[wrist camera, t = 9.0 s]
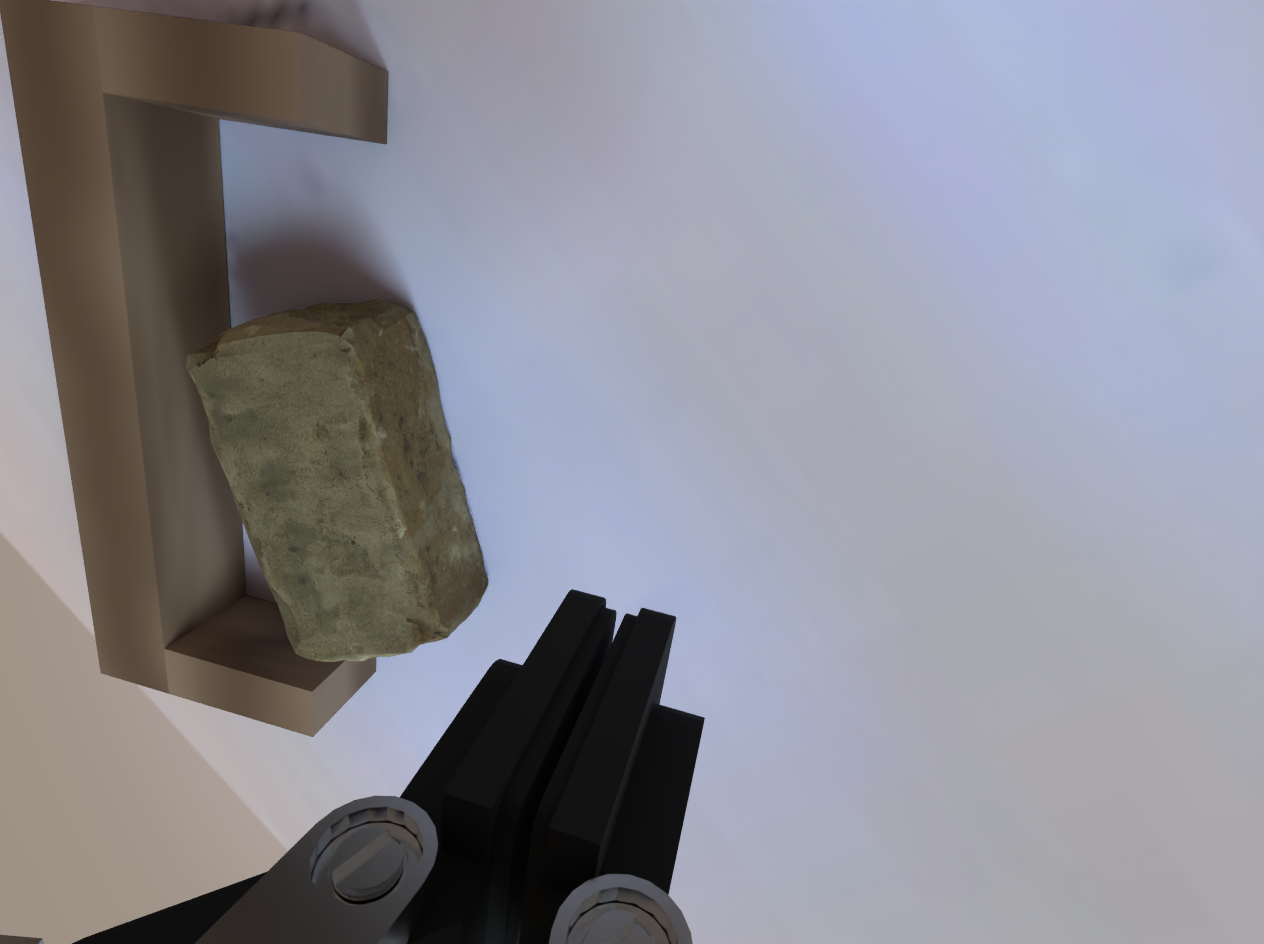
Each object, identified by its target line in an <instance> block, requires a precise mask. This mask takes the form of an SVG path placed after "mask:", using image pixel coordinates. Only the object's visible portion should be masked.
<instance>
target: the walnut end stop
mask: <svg viewBox="0 0 1264 944" xmlns="http://www.w3.org/2000/svg"><path fill="white" fill-rule="evenodd" d="M0 13H1V20H2V26H3V33H4V39H5V46H6V52H7V59H8V66H9V72H10V79H11V85H12V92H13V98H14V105H15V112H16V118H17V125H18V131H19V138H20V145H21V151H22V158H23V164H24V171H25V177H26V184H27V191H28V197H29V204H30V210H31V217H32V223H33V230H34V237H35V243H36V250H37V256H38V263H39V269H40V276H41V283H42V289H43V296H44V302H45V309H46V315H47V322H48V329H49V335H50V342H51V348H52V355H53V362H54V368H55V375H56V381H57V388H58V394H59V401H60V408H61V414H62V421H63V427H64V434H65V440H66V447H67V454H68V460H69V467H70V473H71V480H72V486H73V493H74V500H75V506H76V513H77V519H78V526H79V532H80V539H81V546H82V552H83V559H84V565H85V572H86V579H87V585H88V592H89V598H90V605H91V611H92V618H93V625H94V631H95V638H96V644H97V650H98V657H99V664H100V671H101V673H102V674H106V675H109V676H112V677H116V678H119V679H122V680H125V681H129V682H132V683H135V684H139V685H142V686H145V687H149V688H152V689H155V690H159V691H162V692H165V693H169V694H172V695H175V696H179V697H182V698H185V699H188V700H192V701H195V702H198V703H202V704H205V705H208V706H212V707H215V708H218V709H222V710H225V711H228V712H232V713H235V714H238V715H241V716H245V717H248V718H251V719H255V720H258V721H261V722H265V723H268V724H271V725H275V726H278V727H281V728H285V729H288V730H291V731H295V732H298V733H301V734H304V735H308V736H311V737H313V736H314V735H315V734H316V733H317V732H318V731H319V730H320V729H321V728H322V727H323V726H324V725H325V724H326V723H327V722H328V721H329V720H330V719H331V718H332V717H333V716H334V715H335V714H336V712H337V711H338V710H339V709H340V708H341V707H342V706H343V705H344V704H345V703H346V702H347V701H348V700H349V699H350V698H351V697H352V696H353V695H354V694H355V693H356V692H357V691H358V690H359V689H360V687H361V686H362V685H363V684H364V683H365V682H366V681H367V680H368V679H369V678H370V677H371V676H372V675H373V674H374V673H375V672H376V657H374V658H370V659H367V660H364V661H347V660H342V661H337V662H323V661H315V660H311V659H307V658H304V657H302V656H300V655H298V654H296V653H295V651H294V649H293V647H292V645H291V643H290V640H289V638H288V636H287V632H286V628H285V624H284V621H283V618H282V615H281V613H280V610H279V607H278V605H277V604H275V603H271V602H268V601H264V600H260V599H257V598H253V597H249V596H246V584H245V567H244V550H243V532H242V518H241V516H240V513H239V510H238V507H237V505H236V502H235V499H234V496H233V493H232V490H231V487H230V485H229V482H228V479H227V477H226V475H225V473H224V470H223V468H222V466H221V463H220V461H219V459H218V457H217V455H216V452H215V450H214V448H213V446H212V444H211V437H210V428H209V421H208V418H207V415H206V411H205V408H204V405H203V402H202V400H201V397H200V394H199V392H198V389H197V386H196V384H195V382H194V381H193V379H192V377H191V376H190V374H189V372H188V370H187V368H186V363H187V357H188V354H191V353H194V352H197V351H199V350H200V349H202V348H204V347H205V346H207V345H208V344H210V343H212V342H213V341H214V340H215V339H216V338H217V336H218V335H219V334H220V333H222V332H224V331H226V330H228V329H231V325H230V308H229V290H228V273H227V256H226V238H225V221H224V204H223V187H222V169H221V152H220V135H219V119H223V120H230V121H237V122H243V123H250V124H256V125H263V126H269V127H276V128H282V129H289V130H296V131H302V132H309V133H315V134H322V135H328V136H335V137H342V138H348V139H355V140H361V141H368V142H374V143H381V144H387V106H388V71H385V70H383V69H381V68H379V67H376V66H374V65H372V64H370V63H367V62H365V61H363V60H361V59H358V58H356V57H354V56H352V55H349V54H347V53H345V52H342V51H340V50H338V49H336V48H333V47H331V46H329V45H327V44H324V43H322V42H320V41H318V40H315V39H313V38H311V37H309V36H306V35H304V34H302V33H300V32H293V31H285V30H277V29H269V28H261V27H254V26H246V25H238V24H230V23H222V22H214V21H207V20H199V19H191V18H183V17H175V16H168V15H160V14H152V13H144V12H136V11H128V10H121V9H113V8H105V7H97V6H89V5H82V4H74V3H66V2H58V1H50V0H0Z"/></svg>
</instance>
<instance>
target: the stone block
mask: <svg viewBox="0 0 1264 944" xmlns="http://www.w3.org/2000/svg"><path fill="white" fill-rule="evenodd" d="M186 368H187V370H188V372H189V374H190V376H191V377H192V379H193V381H194V382H195V384H196V386H197V389H198V392H199V394H200V397H201V400H202V402H203V405H204V408H205V411H206V415H207V418H208V421H209V428H210V437H211V444H212V446H213V448H214V450H215V452H216V455H217V457H218V459H219V461H220V463H221V466H222V468H223V470H224V473H225V475H226V477H227V479H228V482H229V485H230V487H231V490H232V493H233V496H234V499H235V502H236V505H237V507H238V510H239V513H240V516H241V518H242V521H243V524H244V526H245V529H246V532H247V535H248V537H249V540H250V542H251V545H252V547H253V550H254V552H255V555H256V557H257V560H258V562H259V565H260V567H261V570H262V572H263V575H264V577H265V579H266V581H267V584H268V586H269V588H270V590H271V592H272V594H273V596H274V598H275V600H276V603H277V605H278V607H279V610H280V613H281V615H282V618H283V621H284V624H285V628H286V632H287V636H288V638H289V640H290V643H291V645H292V647H293V649H294V651H295V653H296V654H298V655H300V656H302V657H304V658H307V659H311V660H315V661H323V662H337V661H342V660H347V661H364V660H367V659H370V658H374V657H390V656H395V655H400V654H405V653H410V652H413V651H414V650H415V649H416V648H417V647H418V646H419V645H421V644H424V643H429V642H435V641H439V640H442V639H445V638H448V636H449V635H450V634H451V633H452V632H453V631H454V630H455V629H456V628H457V627H458V626H459V625H460V624H461V623H462V622H463V621H465V620H466V619H467V618H468V616H469V615H470V614H471V613H472V612H473V610H474V609H475V608H476V607H478V605H479V603H480V601H481V599H482V596H483V594H484V592H485V591H486V588H487V586H488V578H487V575H486V573H485V569H484V562H483V556H482V552H481V549H480V546H479V543H478V540H477V536H476V533H475V529H474V525H473V522H472V519H471V516H470V513H469V510H468V507H467V501H466V494H465V489H464V487H463V485H462V483H461V481H460V478H459V474H458V472H457V469H456V467H455V465H454V463H453V460H452V458H451V437H450V435H449V433H448V430H447V428H446V425H445V421H444V417H443V412H442V408H441V403H440V395H439V388H438V382H437V378H436V374H435V369H434V365H433V362H432V359H431V356H430V352H429V349H428V346H427V343H426V341H425V338H424V335H423V333H422V330H421V328H420V325H419V322H418V320H417V317H416V315H415V313H414V312H412V311H410V310H407V309H405V308H403V307H401V306H398V305H395V304H391V303H388V302H385V301H381V300H373V301H367V302H362V303H324V304H317V305H313V306H310V307H307V308H305V309H292V310H289V311H285V312H281V313H277V314H272V315H269V316H266V317H262V318H258V319H254V320H251V321H249V322H246V323H244V324H241V325H238V326H236V327H233V328H231V329H228V330H226V331H224V332H222V333H220V334H219V335H218V336H217V338H216V339H215V340H214V341H213V342H212V343H210V344H208V345H207V346H205V347H204V348H202V349H200V350H199V351H197V352H194V353H191V354H188V357H187V363H186Z"/></svg>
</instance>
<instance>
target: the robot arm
mask: <svg viewBox="0 0 1264 944" xmlns="http://www.w3.org/2000/svg"><path fill="white" fill-rule="evenodd" d="M615 621H616V611H615V610H612V609H608V608H606V599H605V598H603V597H600V596H596V595H592V594H588V593H584V592H581V591H577V590H573V589H572V590H570V591H569V593H568V594H567V595H566V597H565V599H564V600H563V602H562V603H561V605H560V607H559V608H558V610H557V611H556V613H555V615H554V616H553V618H552V619H551V621H550V623H549V624H548V626H547V627H546V629H545V631H544V632H543V634H542V635H541V637H540V639H539V640H538V642H537V643H536V645H535V647H534V648H533V650H532V651H531V653H530V655H529V656H528V658H527V659H526V661H525V663H524V664H523V665H519V664H516V663H512V662H509V661H505V660H502V659H499V660H497V661H495V662H494V663H493V664H492V666H491V667H490V668H489V669H488V671H487V672H486V674H485V675H484V677H483V678H482V679H481V681H480V682H479V684H478V685H477V687H476V688H475V690H474V691H473V692H472V694H471V695H470V697H469V698H468V700H467V701H466V703H465V704H464V705H463V707H462V708H461V710H460V711H459V713H458V714H457V715H456V717H455V718H454V720H453V721H452V723H451V724H450V726H449V727H448V728H447V730H446V731H445V733H444V734H443V736H442V737H441V739H440V740H439V741H438V743H437V744H436V746H435V747H434V749H433V750H432V752H431V753H430V754H429V756H428V757H427V759H426V760H425V762H424V763H423V765H422V766H421V767H420V769H419V770H418V772H417V773H416V775H415V776H414V777H413V779H412V780H411V782H410V783H409V785H408V786H407V788H406V789H405V790H404V792H403V793H402V795H401V796H400V798H399V797H396V796H372V797H367V798H362V799H358V800H354V801H352V802H350V803H347V804H345V805H343V806H341V807H339V808H337V809H335V810H333V811H332V812H331V813H329V814H328V815H327V816H325V817H324V818H323V819H322V820H320V821H319V822H318V823H316V824H315V825H314V826H313V827H312V828H311V829H310V830H309V831H308V832H307V833H306V834H305V835H304V836H303V837H302V838H301V839H300V840H299V841H298V842H297V843H296V844H295V845H294V846H293V847H292V848H291V849H290V850H289V851H288V852H287V853H286V854H285V855H284V856H283V857H282V858H281V859H280V860H279V861H278V862H277V863H276V864H275V865H274V866H273V867H272V868H271V869H270V870H269V871H268V872H265V873H262V874H260V875H257V876H255V877H251V878H249V879H246V880H243V881H241V882H238V883H235V884H232V885H230V886H227V887H224V888H221V889H218V890H216V891H213V892H210V893H207V894H204V895H202V896H199V897H196V898H193V899H191V900H188V901H185V902H182V903H180V904H177V905H174V906H172V907H168V908H166V909H163V910H160V911H158V912H155V913H152V914H149V915H146V916H144V917H141V918H138V919H135V920H133V921H130V922H127V923H124V924H121V925H119V926H116V927H113V928H110V929H108V930H105V931H102V932H99V933H96V934H94V935H91V936H89V937H85V938H83V939H81V940H79V941H77V942H74V943H72V944H692V937H691V932H690V929H689V927H688V925H687V923H686V920H685V918H684V916H683V914H682V911H681V910H680V909H679V908H678V906H677V905H676V904H675V903H674V901H673V900H672V899H671V898H670V897H669V895H668V894H669V889H670V884H671V879H672V874H673V870H674V865H675V860H676V855H677V850H678V845H679V841H680V836H681V831H682V826H683V821H684V816H685V811H686V807H687V802H688V797H689V792H690V787H691V782H692V778H693V773H694V768H695V763H696V758H697V753H698V748H699V744H700V739H701V734H702V729H703V724H704V719H705V718H704V717H700V716H697V715H693V714H690V713H686V712H683V711H679V710H676V709H672V708H669V707H666V706H662V705H659V704H660V699H661V694H662V689H663V684H664V679H665V674H666V669H667V664H668V659H669V653H670V648H671V643H672V638H673V633H674V628H675V623H676V617H675V616H672V615H668V614H664V613H660V612H656V611H653V610H649V609H645V608H641V610H640V612H639V614H638V616H634V615H630V614H625V616H624V618H623V620H622V623H621V625H620V627H619V629H618V631H617V634H616V636H615V638H614V640H613V634H614V628H615ZM612 641H613V642H612ZM0 944H44V942H43V939H42V938H31V937H19V936H8V935H0Z"/></svg>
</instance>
